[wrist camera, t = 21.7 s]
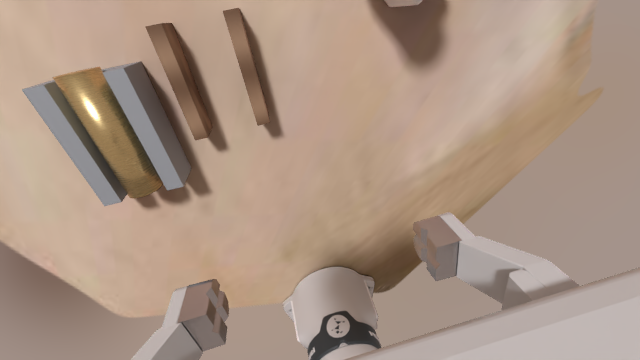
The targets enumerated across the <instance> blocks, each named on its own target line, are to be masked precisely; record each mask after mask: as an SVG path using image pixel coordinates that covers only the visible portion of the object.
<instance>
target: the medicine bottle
mask: <svg viewBox="0 0 640 360" xmlns="http://www.w3.org/2000/svg"><path fill="white" fill-rule="evenodd" d="M384 1H385V2H386V3H387V5H388V6H389V7H400V6H412V5H418V4H420V3H421V2H422V0H384Z"/></svg>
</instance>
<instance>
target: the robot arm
mask: <svg viewBox="0 0 640 360" xmlns="http://www.w3.org/2000/svg"><path fill="white" fill-rule="evenodd" d="M413 230H414V232H415V233H416V235H415V237H414V238H413V239H414V247H415V250H416V252H417V254H418V256H419V258H420V259H421V260H422V261H424V262H426V263H427V269H428V271H429V272H430V274H431V275H432V277H433V278H434V279H435V281H438V280H442V279H446V278H450V277H454V276H456V277H458V278H459V279H461V280H463V281H464V282H466V283H468V284H470V285H472V286H473V287H475V288H476V289H478V290H480V291H481V292H483V293H485V294H487V295H488V296H490V297H492V298H493V299H495V300H497V301H499V302H500V303H502V304H503V305H502V310H501V311H498V312H495V313H492V314H488V315H485V316H482V317H479V318H476V319H473V320H469V321H466V322H463V323H460V324H457V325H453V326H450V327H447V328H444V329H440V330H437V331H434V332H431V333H427V334H424V335H421V336H418V337H415V338H411V339H409V340H405V341H402V342H399V343H396V344H392V345H389V346H386V347H383V348H381V346H380V345H381V344H380V341H379V338H378V337H377V335H376V332H375V329H377V321H378V314H377V311H376V309H375V306H374V303H373V300H372V296H373V290H374V284H375V283H374V280H373V278H372V277H369V276H364V275H360V274H358V273H357V272H355V271H354V270H351V269H349V268H344V267H329V268H324V269H321V270H318V271H316V272H313V273H311V274H310V275H308V276H307V277H305V278H304V279H303V280H302V281H301V282H300V283H299V284H298V285H297V287H296V288H295V290H294V292H293V294H292V295H291V296H290V297H289V298H288V299H286V300H285V301H284V302H283V308H284V310H285V312H286V313H287V314H288V315H289V317H290V318H291V319H292V321H293V322H294V324H295V330H296V335H297V340H298V342H301V344H302V345H303V346H304V347H305V348H306V349H308V357H309V359H308V360H640V268H636V269H633V270H630V271H627V272H624V273H620V274H617V275H614V276H611V277H607V278H604V279H601V280H598V281H595V282H591V283H588V284H585V285H582V286H579V285H578V284H577V283H575V282H574V281H573V280H572V279H571V278H570V277H568V276H567V275H566V274H565V273H563V272H562V271H561V270H560V269H558V268H557V267H556V266H555V265H554V264H552V263H551V262H550V261H549V260H546V259H544V258H541V257H538V256H535V255H532V254H529V253H527V252H524V251H521V250H518V249H515V248H512V247H509V246H507V245H504V244H501V243H498V242H495V241H492V240H489V239H487V238H484V237H481V236H478V237H476V236H475V235H473V234H472V233H471V232H470V231H469V230H468V229H467V228H466V227H465V226H464V225H463V224H462V223H461V222H460V221H459V220H458V219H457V218H456V217H455V216H454V215H453V214H452V213H450V212H448V213H444V214H441V215H438V216H434V217H431V218H428V219H424V220H421V221H417V222H414V224H413ZM219 288H220V284H219V283H218V281H217V279H212V280H208V281H204V282H200V283H196V284H193V285H189V286H186V287H182V288H178V289H176V290H175V291H174V292H173V294H172V297H171V300H170V303H169V307H168V310H167V313H166V316H165V319H164V322H163V326H162V328H160V329H157V331H156V332H155V333H154V334H153V335H152V336H151V337H150V338H149V340H148V341H147V342H146V343H145V344H144V345H143V346H142V347H141V349H140V350H139V351H138V352H137V353H136V354H135V355H134V357H133V358H132V359H131V360H199V359H200V357H201V355H202V354H203V351H205V350H209V349H212V348H215V347H218V346H221V345H224V344H225V342H226V333H227V326H226V325H225V323H224V322H225V321H226V319H227V318H228V314H229V306H228V300H227V297H226V295H225V293H224V292H222V291H220V290H219Z"/></svg>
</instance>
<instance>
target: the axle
mask: <svg viewBox="0 0 640 360" xmlns="http://www.w3.org/2000/svg"><path fill="white" fill-rule="evenodd" d="M53 79H54V81H55V82H56V84H57V85H58V87H59V88H60V90H61V91H62V93H63V95H64V96H65V98H66V99H67V101H68V102H69V104H70V105H71V107H72V109H73V110H74V112H75V113H76V115H77V116H78V118H79V119H80V121H81V123H82V124H83V126H84V127H85V129H86V130H87V132H88V134H89V135H90V137H91V138H92V140H93V141H94V143H95V144H96V146H97V148H98V149H99V151H100V152H101V154H102V155H103V157H104V158H105V160H106V162H107V163H108V165H109V166H110V168H111V169H112V171H113V172H114V174H115V176H116V177H117V179H118V180H119V182H120V183H121V185H122V187H123V188H124V190H125V191H126V193H127V194H128V196H129V197H130V198H140V197H144V196H147V195H149V194H151V193H153V192H155V191H156V190H158V189H159V188H160V187H161V186H162V185H163V182H162V180H161V178H160V176H159V175H158V173H157V171H156V169H155V167H154V166H153V164H152V162H151V160H150V158H149V156H148V155H147V153H146V151H145V149H144V147H143V145H142V144H141V142H140V140H139V138H138V136H137V135H136V133H135V131H134V129H133V127H132V125H131V124H130V122H129V120H128V118H127V116H126V115H125V113H124V111H123V109H122V107H121V105H120V104H119V102H118V100H117V98H116V96H115V95H114V93H113V91H112V89H111V87H110V85H109V84H108V82H107V80H106V78H105V76H104V74H103V72H102V70H101V68H100V67H95V68H90V69H85V70H80V71H76V72H71V73H67V74H63V75H59V76H56V77H53Z"/></svg>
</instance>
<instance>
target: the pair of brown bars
mask: <svg viewBox="0 0 640 360" xmlns="http://www.w3.org/2000/svg"><path fill="white" fill-rule="evenodd" d="M223 13H224V17H225V20H226V23H227V26H228V30H229V33H230V36H231V40H232V43H233V46H234V49H235V53H236V56H237V59H238V63H239V66H240V69H241V72H242V76H243V79H244V82H245V85H246V89H247V92H248V95H249V99H250V102H251V105H252V108H253V112H254V115H255V118H256V122H257V125H262V124H267V123H270V119H269V112H268V109H267V105H266V102H265V98H264V94H263V91H262V87H261V84H260V80H259V76H258V73H257V69H256V66H255V62H254V58H253V55H252V51H251V48H250V44H249V40H248V37H247V33H246V29H245V26H244V22H243V19H242V15H241V11H240V9H239V8H235V9H231V10H226V11H223ZM146 29H147V31H148V34H149V36H150V38H151V41H152V43H153V45H154V47H155V50H156V52H157V54H158V57H159V59H160V61H161V63H162V66H163V68H164V70H165V72H166V75H167V77H168V79H169V82H170V84H171V86H172V88H173V91H174V93H175V95H176V98H177V100H178V102H179V104H180V107H181V109H182V111H183V114H184V116H185V118H186V120H187V123H188V125H189V127H190V129H191V132H192V134H193V136H194V139H195V140H199V139H203V138H207V137H208V136H209V134H210V131H211V129H212V124H211V122H210V119H209V117H208V114H207V111H206V109H205V106H204V104H203V101H202V99H201V96H200V94H199V91H198V89H197V86H196V84H195V81H194V78H193V76H192V73H191V71H190V68H189V66H188V63H187V61H186V58H185V56H184V53H183V51H182V48H181V45H180V43H179V40H178V38H177V35H176V33H175V30H174V28H173V25H172V23H162V24H156V25H152V26H147V27H146Z"/></svg>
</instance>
